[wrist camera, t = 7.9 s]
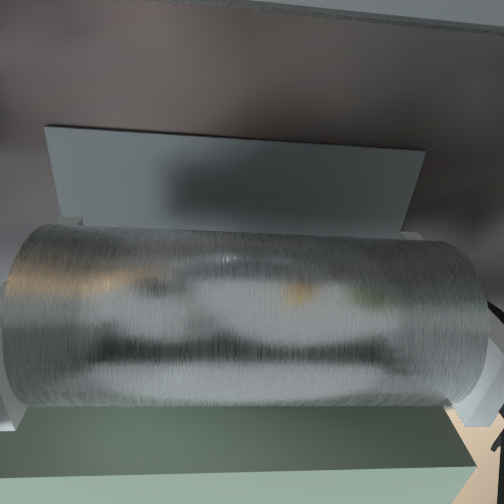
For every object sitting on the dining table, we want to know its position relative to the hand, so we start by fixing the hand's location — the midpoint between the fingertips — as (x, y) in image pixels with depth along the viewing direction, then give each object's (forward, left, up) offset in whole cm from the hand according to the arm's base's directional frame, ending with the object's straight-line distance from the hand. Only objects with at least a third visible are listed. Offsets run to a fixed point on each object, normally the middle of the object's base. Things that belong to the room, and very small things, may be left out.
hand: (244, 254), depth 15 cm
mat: (0, 0, -4) cm, 4 cm away
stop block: (+6, 0, -4) cm, 7 cm away
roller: (0, 0, +1) cm, 1 cm away
